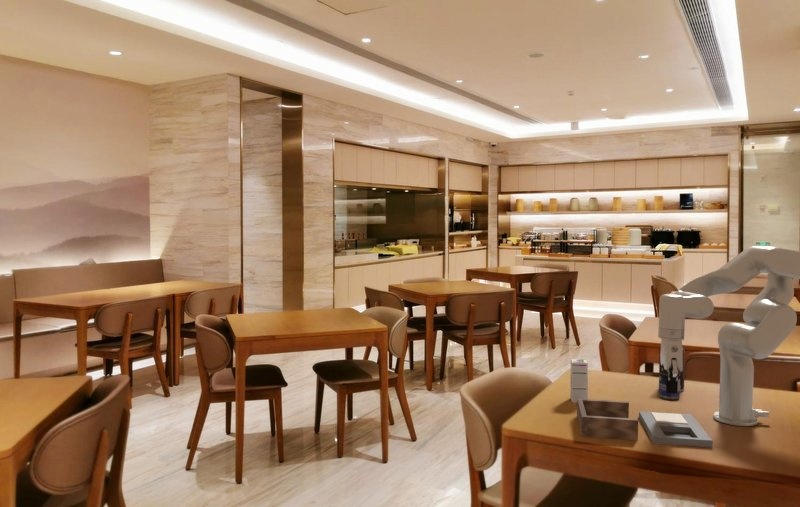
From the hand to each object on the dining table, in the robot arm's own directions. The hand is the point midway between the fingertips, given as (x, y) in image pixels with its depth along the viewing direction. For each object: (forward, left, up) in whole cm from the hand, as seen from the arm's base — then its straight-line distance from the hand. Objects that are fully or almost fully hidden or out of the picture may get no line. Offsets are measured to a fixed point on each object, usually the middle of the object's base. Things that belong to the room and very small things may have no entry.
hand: (669, 389), depth 195 cm
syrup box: (+26, -21, -12) cm, 35 cm away
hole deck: (0, +6, -11) cm, 13 cm away
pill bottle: (0, 0, -3) cm, 3 cm away
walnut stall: (+20, +7, -11) cm, 24 cm away
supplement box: (-10, -44, -12) cm, 47 cm away
